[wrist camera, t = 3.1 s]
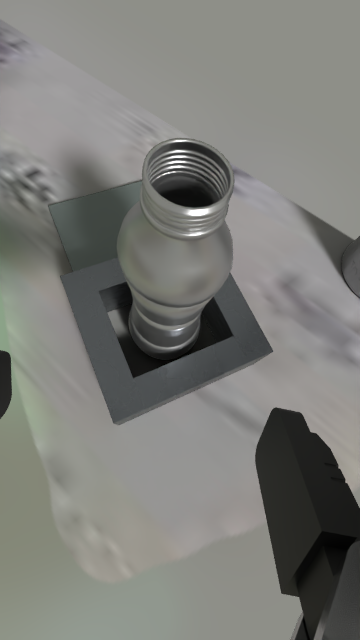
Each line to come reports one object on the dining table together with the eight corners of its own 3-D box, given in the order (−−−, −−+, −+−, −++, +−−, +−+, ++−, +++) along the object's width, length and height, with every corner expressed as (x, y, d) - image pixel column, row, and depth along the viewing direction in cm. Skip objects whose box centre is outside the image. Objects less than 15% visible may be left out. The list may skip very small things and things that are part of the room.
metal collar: (197, 257, 34) (206, 229, 29) (253, 363, 30) (273, 351, 26) (73, 299, 31) (60, 276, 26) (119, 425, 27) (113, 423, 22)
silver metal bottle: (156, 378, 29) (176, 279, 10) (116, 323, 30) (69, 148, 12) (208, 340, 31) (306, 197, 12) (168, 289, 32) (199, 92, 14)
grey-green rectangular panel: (166, 180, 37) (167, 174, 36) (198, 239, 35) (199, 234, 34) (50, 212, 34) (48, 205, 33) (76, 279, 31) (74, 275, 31)
